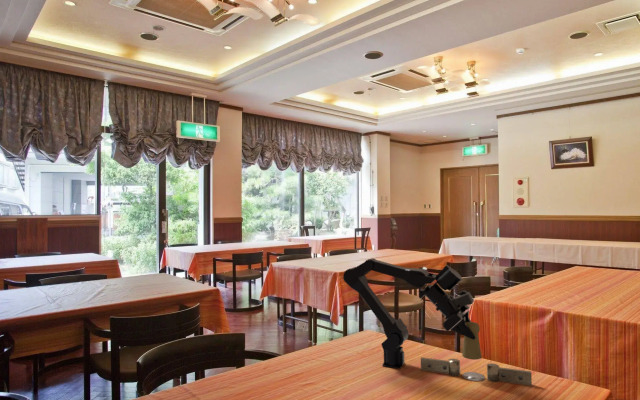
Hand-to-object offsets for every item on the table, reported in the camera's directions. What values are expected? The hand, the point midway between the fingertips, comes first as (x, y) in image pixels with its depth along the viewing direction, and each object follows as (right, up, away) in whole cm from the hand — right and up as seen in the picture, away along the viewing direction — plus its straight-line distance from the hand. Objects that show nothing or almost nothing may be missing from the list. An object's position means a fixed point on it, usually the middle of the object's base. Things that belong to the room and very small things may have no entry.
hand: (475, 336), depth 135 cm
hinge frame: (0, -13, +1) cm, 13 cm away
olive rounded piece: (-1, -7, 0) cm, 7 cm away
